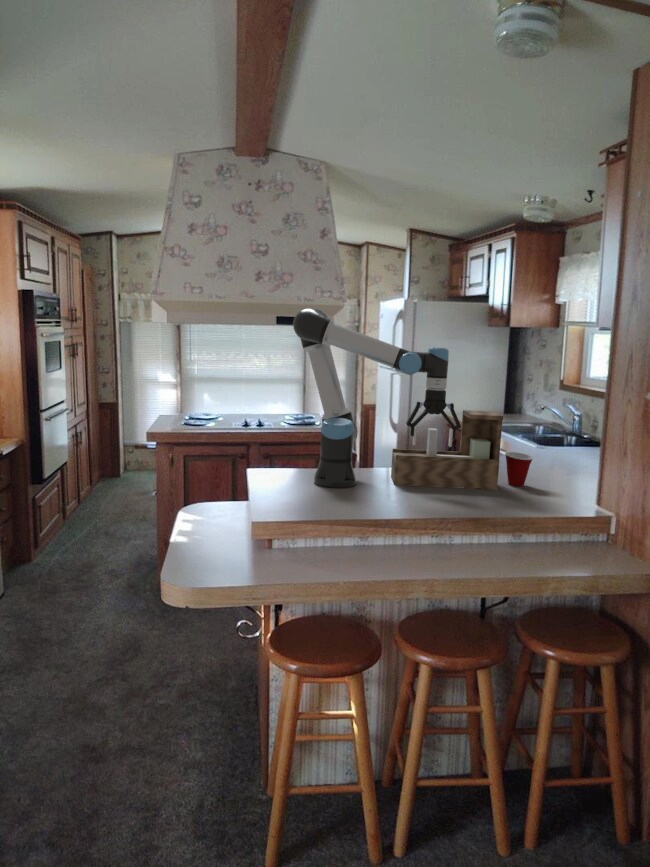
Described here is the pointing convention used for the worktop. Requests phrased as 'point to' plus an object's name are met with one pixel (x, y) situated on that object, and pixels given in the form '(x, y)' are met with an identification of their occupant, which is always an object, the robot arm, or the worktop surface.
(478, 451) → the tethered block
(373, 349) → the robot arm
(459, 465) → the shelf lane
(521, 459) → the plastic cup
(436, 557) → the worktop surface
